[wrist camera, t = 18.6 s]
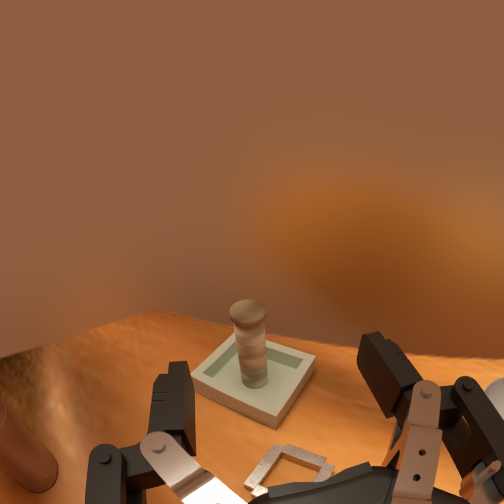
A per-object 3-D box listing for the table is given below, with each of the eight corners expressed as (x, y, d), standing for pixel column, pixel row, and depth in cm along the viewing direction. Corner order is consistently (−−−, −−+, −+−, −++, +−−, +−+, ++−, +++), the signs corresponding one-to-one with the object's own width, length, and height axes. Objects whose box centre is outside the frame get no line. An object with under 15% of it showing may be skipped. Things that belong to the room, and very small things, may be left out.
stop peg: (234, 383, 46) (222, 314, 39) (249, 365, 50) (241, 296, 43) (260, 394, 43) (254, 324, 37) (274, 373, 47) (272, 304, 41)
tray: (193, 389, 46) (189, 374, 44) (238, 344, 56) (237, 329, 55) (276, 430, 38) (276, 416, 36) (313, 371, 48) (315, 356, 47)
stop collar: (241, 492, 28) (240, 487, 27) (276, 445, 35) (276, 438, 34) (304, 519, 23) (306, 516, 23) (335, 466, 30) (337, 461, 30)
